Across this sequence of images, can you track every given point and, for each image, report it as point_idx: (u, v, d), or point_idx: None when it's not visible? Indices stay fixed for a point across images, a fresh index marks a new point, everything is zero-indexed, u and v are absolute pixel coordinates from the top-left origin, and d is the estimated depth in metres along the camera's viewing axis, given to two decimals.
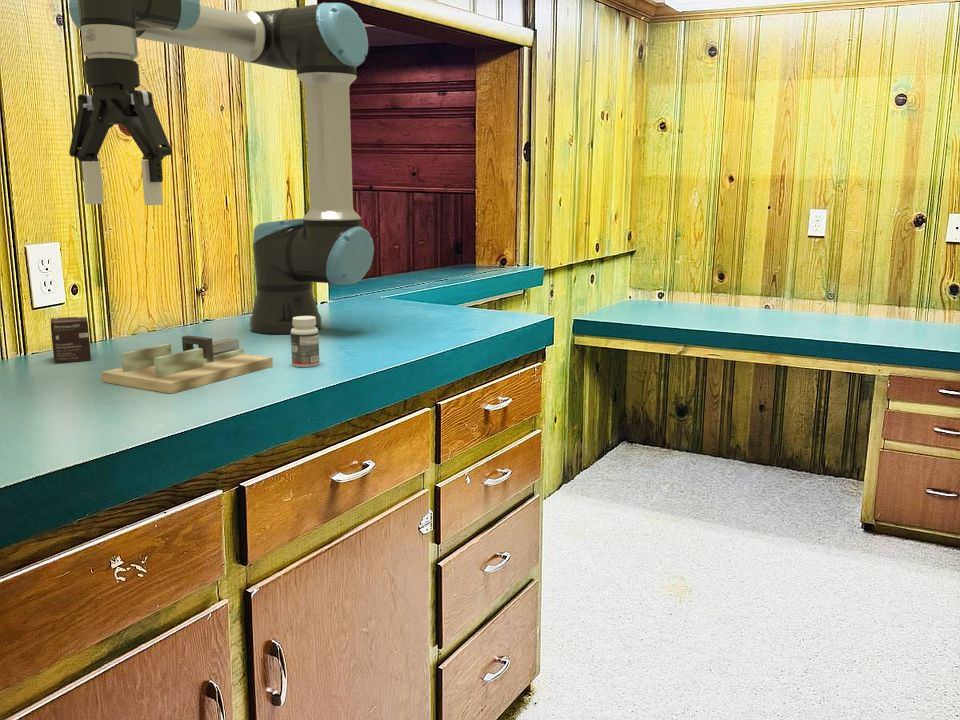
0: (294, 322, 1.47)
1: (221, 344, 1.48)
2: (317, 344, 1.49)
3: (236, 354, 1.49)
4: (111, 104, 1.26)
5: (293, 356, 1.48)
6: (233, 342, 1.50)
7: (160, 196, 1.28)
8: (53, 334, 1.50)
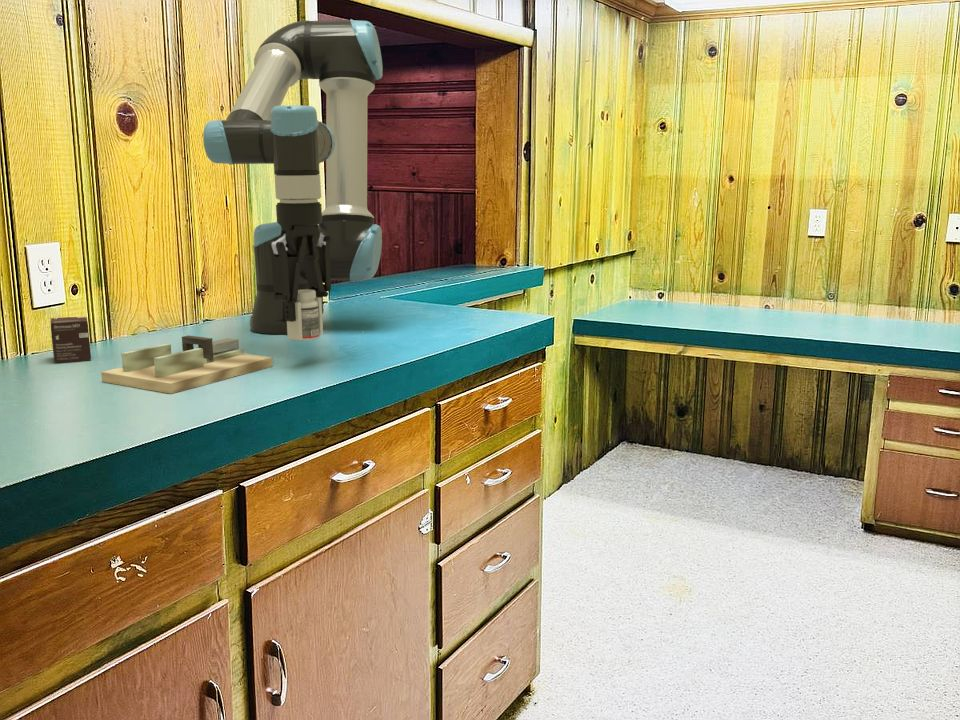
0: None
1: (221, 344, 1.48)
2: (317, 318, 1.48)
3: (236, 354, 1.49)
4: None
5: None
6: (233, 342, 1.50)
7: (297, 333, 1.46)
8: (53, 334, 1.50)
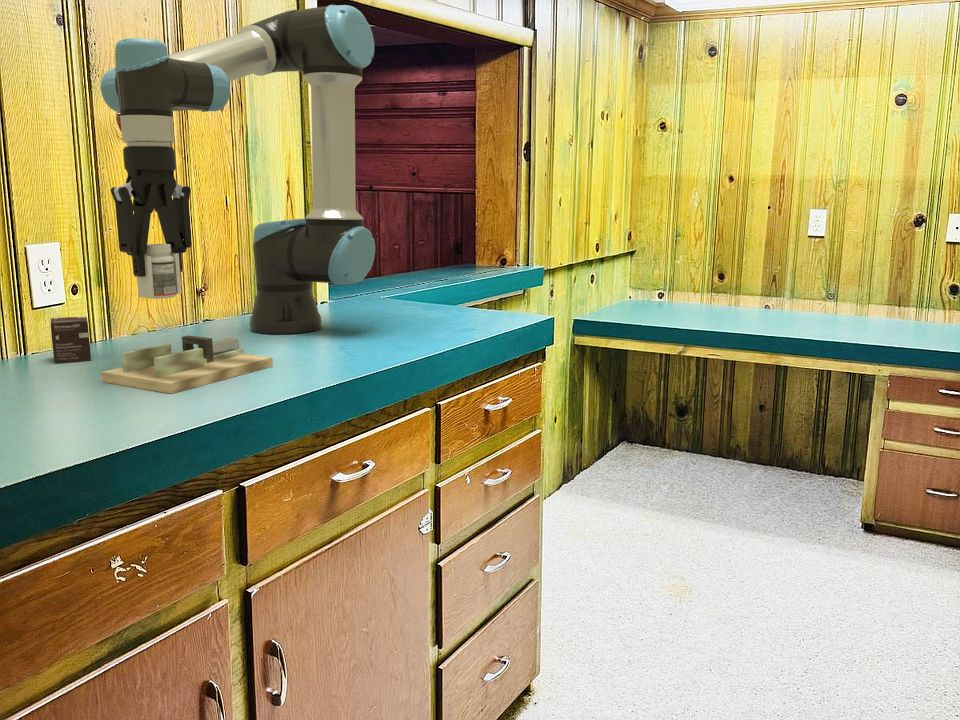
0: None
1: (221, 344, 1.48)
2: (172, 274, 1.36)
3: (236, 354, 1.49)
4: None
5: None
6: (233, 342, 1.50)
7: (148, 289, 1.34)
8: (53, 334, 1.50)
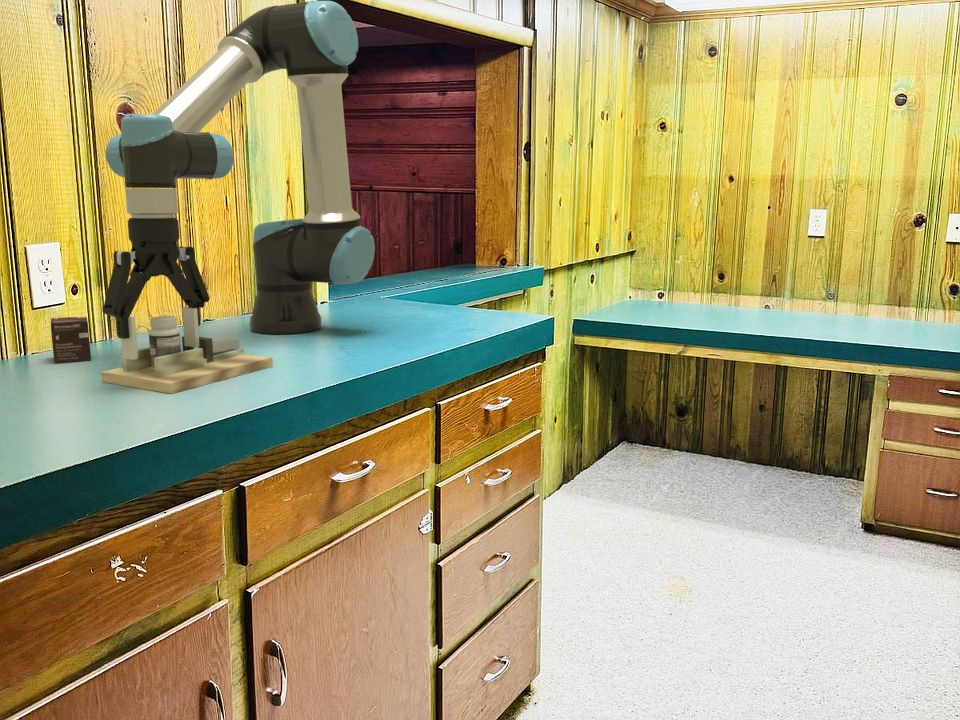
0: (151, 323, 1.37)
1: (221, 344, 1.48)
2: (178, 346, 1.38)
3: (236, 354, 1.49)
4: None
5: (152, 359, 1.38)
6: (233, 342, 1.50)
7: (132, 351, 1.32)
8: (53, 334, 1.50)
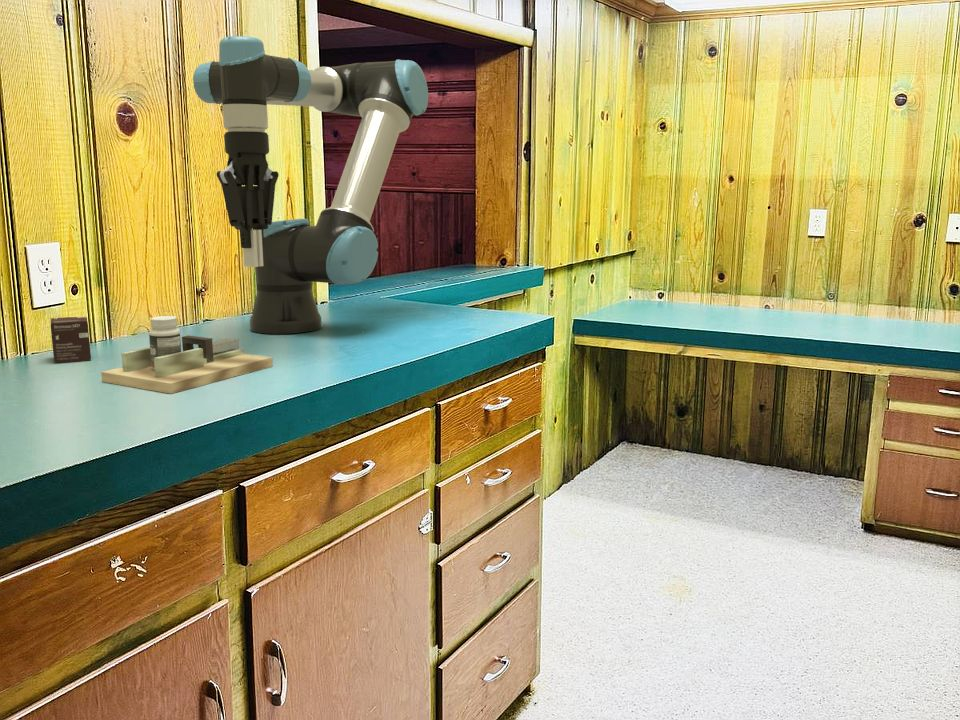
0: (152, 323, 1.37)
1: (221, 344, 1.48)
2: (178, 346, 1.38)
3: (236, 354, 1.49)
4: None
5: (152, 359, 1.38)
6: (233, 342, 1.50)
7: (253, 259, 1.53)
8: (53, 334, 1.50)
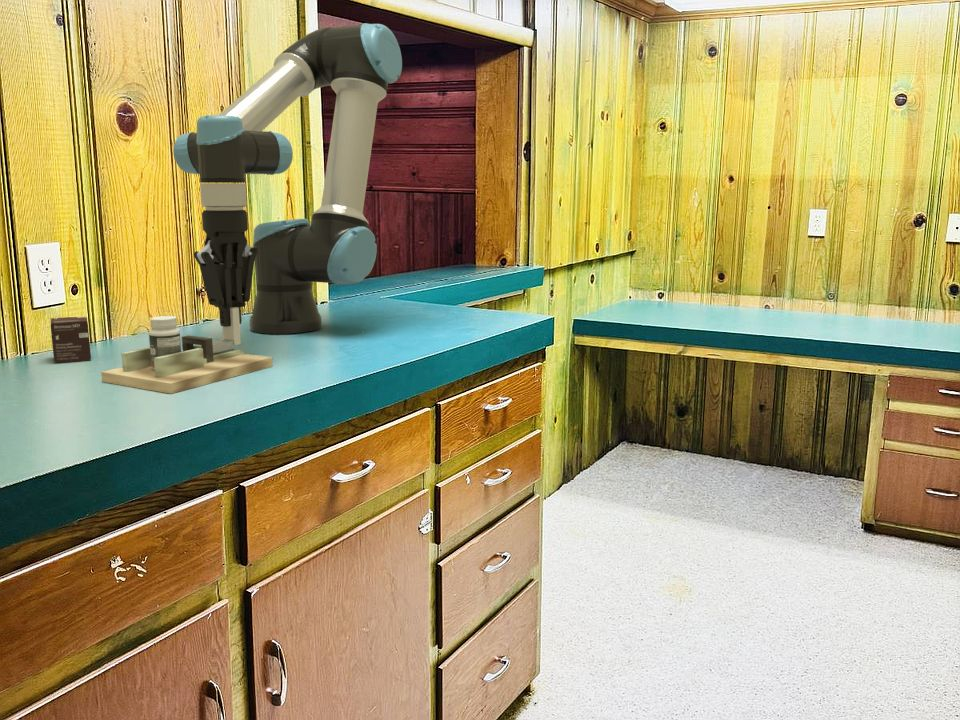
0: (151, 323, 1.37)
1: (216, 345, 1.47)
2: (178, 346, 1.38)
3: (236, 354, 1.49)
4: None
5: (152, 359, 1.38)
6: (228, 343, 1.49)
7: (232, 338, 1.50)
8: (53, 334, 1.50)
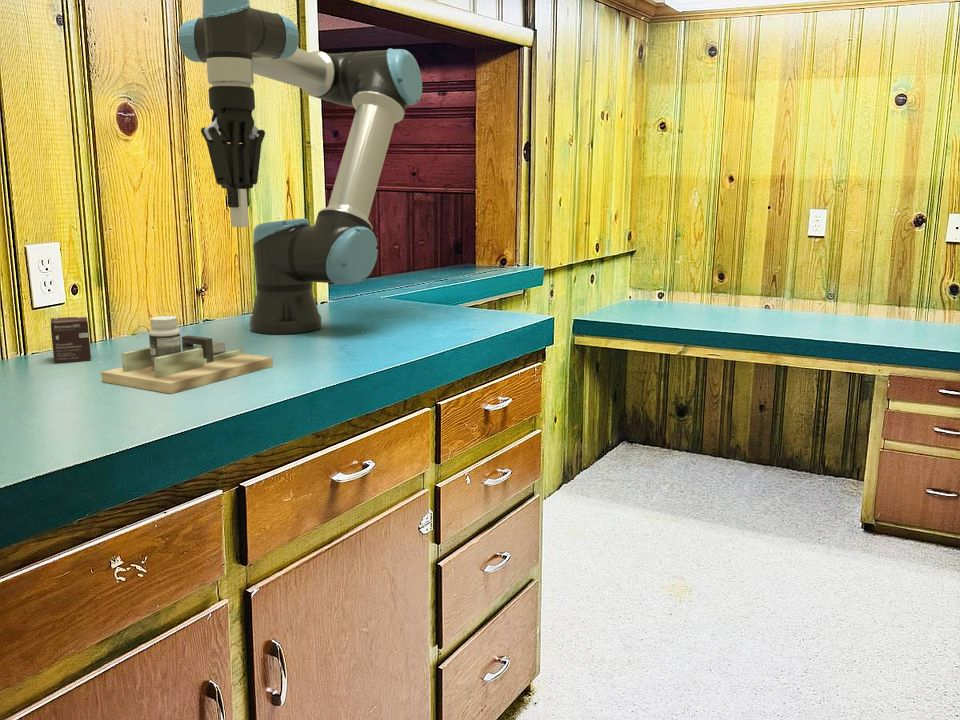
0: (151, 323, 1.37)
1: None
2: (178, 346, 1.38)
3: (236, 354, 1.49)
4: None
5: (152, 359, 1.38)
6: (219, 345, 1.48)
7: (240, 219, 1.49)
8: (53, 334, 1.50)
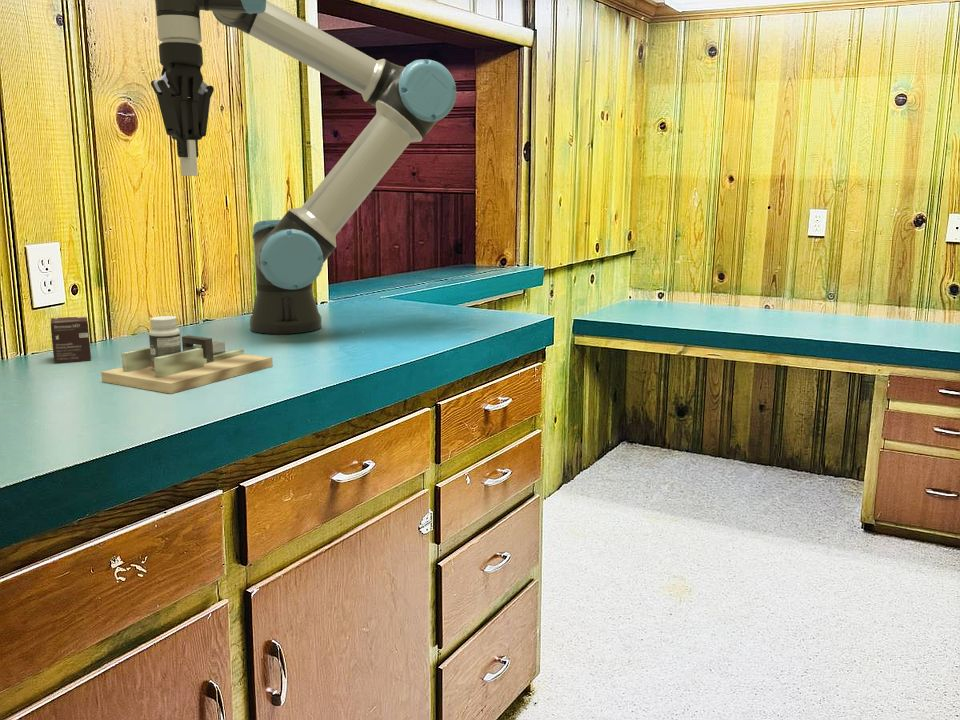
0: (151, 323, 1.37)
1: None
2: (178, 346, 1.38)
3: (236, 354, 1.49)
4: None
5: (152, 359, 1.38)
6: (219, 345, 1.48)
7: (189, 168, 1.60)
8: (53, 334, 1.50)
